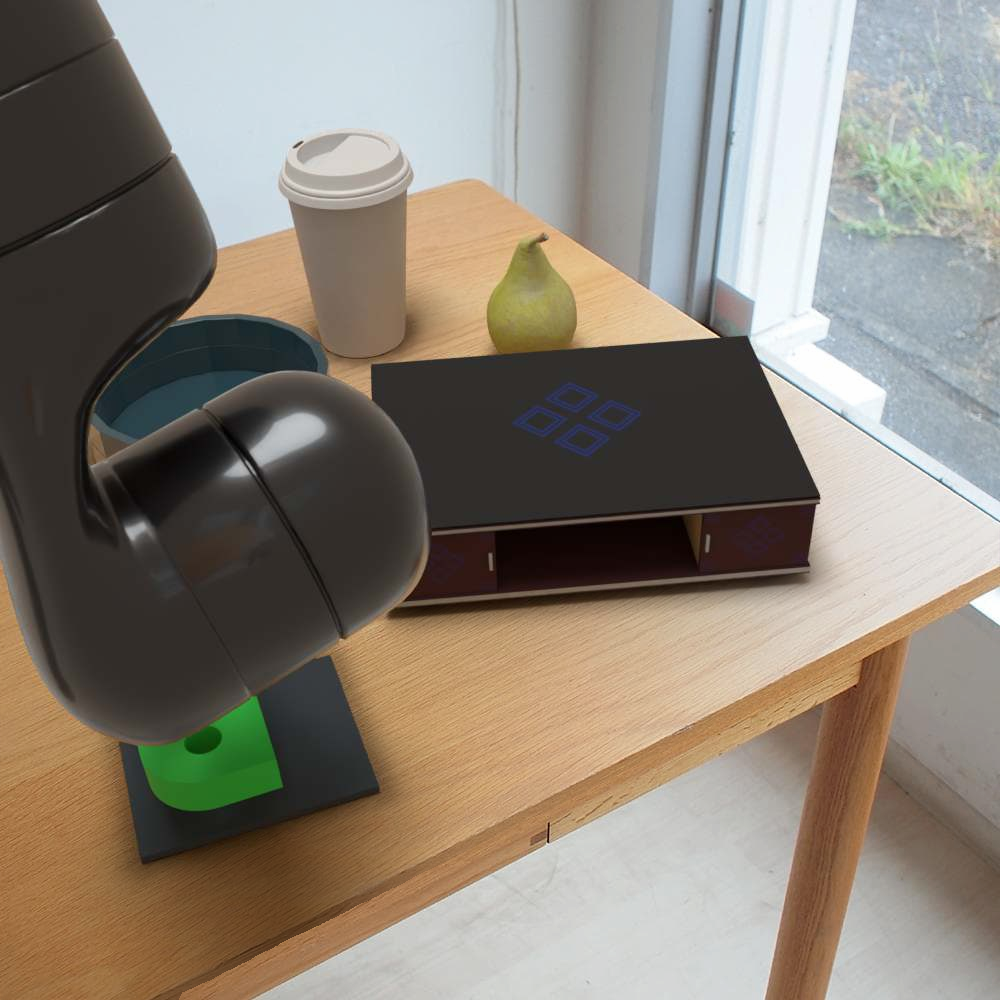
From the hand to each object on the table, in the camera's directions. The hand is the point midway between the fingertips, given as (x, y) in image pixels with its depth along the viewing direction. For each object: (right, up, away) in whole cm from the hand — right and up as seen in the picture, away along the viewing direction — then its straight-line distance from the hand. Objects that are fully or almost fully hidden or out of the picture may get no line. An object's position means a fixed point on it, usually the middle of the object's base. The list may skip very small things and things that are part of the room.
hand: (214, 626), depth 66 cm
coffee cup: (+4, +19, +36) cm, 41 cm away
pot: (-5, +11, +26) cm, 28 cm away
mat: (+1, -7, +3) cm, 8 cm away
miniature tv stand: (+19, +6, +18) cm, 27 cm away
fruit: (+17, +17, +33) cm, 40 cm away
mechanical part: (-1, -5, +1) cm, 5 cm away
